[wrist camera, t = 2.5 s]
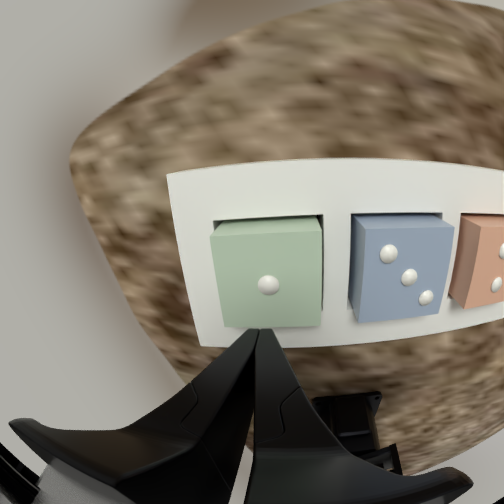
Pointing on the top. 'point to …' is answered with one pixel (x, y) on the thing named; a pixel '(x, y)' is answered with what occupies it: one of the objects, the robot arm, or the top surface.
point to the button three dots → (398, 265)
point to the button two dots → (479, 261)
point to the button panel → (326, 233)
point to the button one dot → (269, 271)
